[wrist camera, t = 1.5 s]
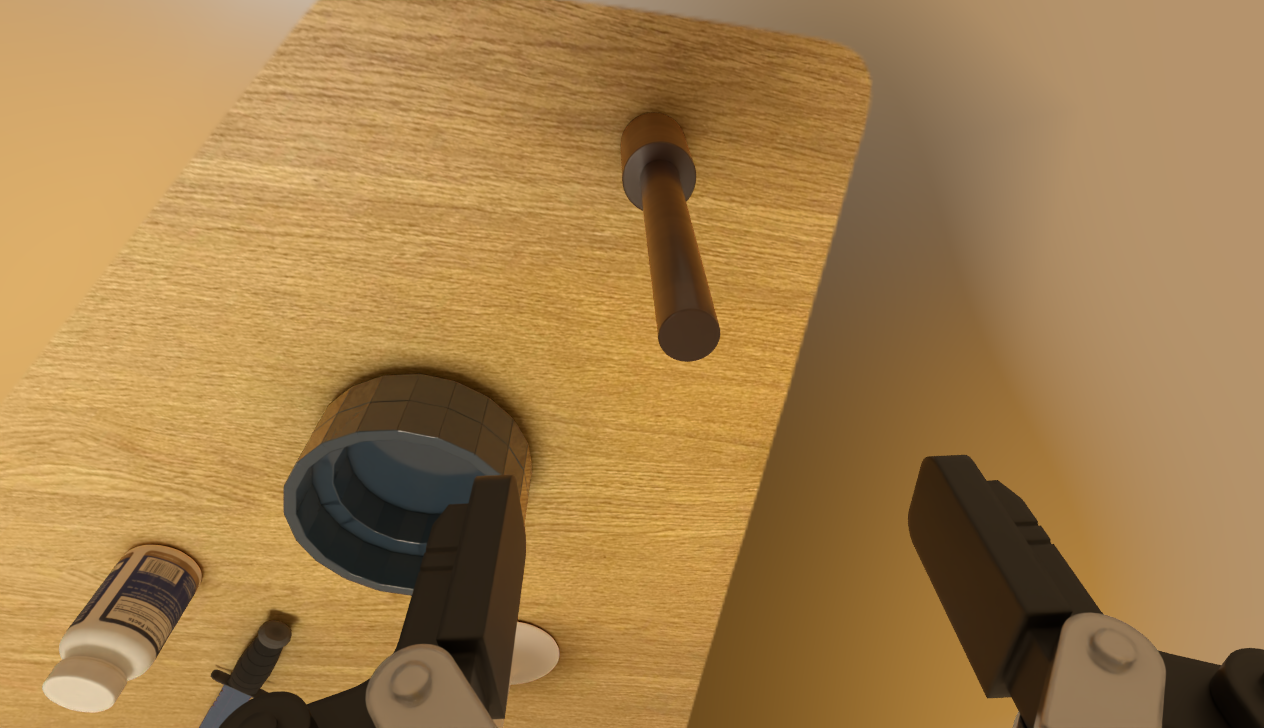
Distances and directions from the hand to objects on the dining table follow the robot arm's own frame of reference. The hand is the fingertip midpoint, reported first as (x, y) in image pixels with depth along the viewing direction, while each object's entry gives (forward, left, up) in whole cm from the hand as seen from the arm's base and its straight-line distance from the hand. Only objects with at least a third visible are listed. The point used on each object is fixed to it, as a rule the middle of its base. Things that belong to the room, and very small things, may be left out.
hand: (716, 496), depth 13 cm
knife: (+44, -37, -24) cm, 62 cm away
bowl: (+19, -15, -24) cm, 34 cm away
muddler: (0, 0, -24) cm, 24 cm away
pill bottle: (+29, -36, -24) cm, 52 cm away
